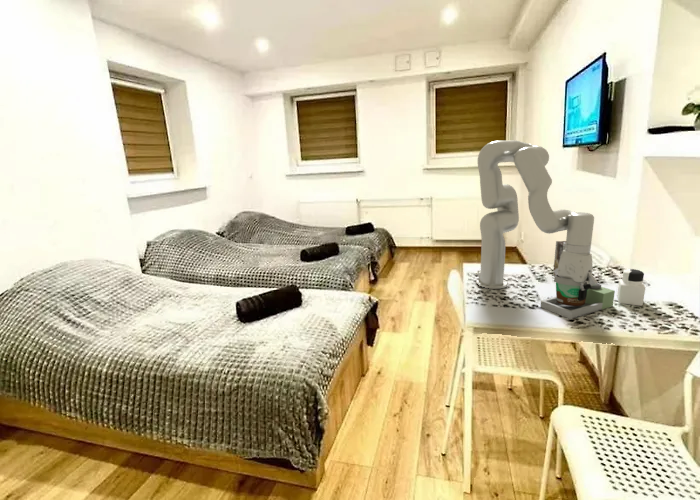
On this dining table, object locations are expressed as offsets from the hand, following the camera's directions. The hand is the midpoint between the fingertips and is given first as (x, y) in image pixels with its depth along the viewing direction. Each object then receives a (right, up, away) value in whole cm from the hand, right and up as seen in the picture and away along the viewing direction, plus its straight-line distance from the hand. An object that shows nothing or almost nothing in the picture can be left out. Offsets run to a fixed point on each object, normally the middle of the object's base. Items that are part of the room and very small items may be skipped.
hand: (572, 296), depth 135 cm
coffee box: (+15, +4, +31) cm, 35 cm away
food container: (0, -3, 0) cm, 3 cm away
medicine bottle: (+24, -3, +4) cm, 24 cm away
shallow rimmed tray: (+3, -4, +2) cm, 5 cm away
